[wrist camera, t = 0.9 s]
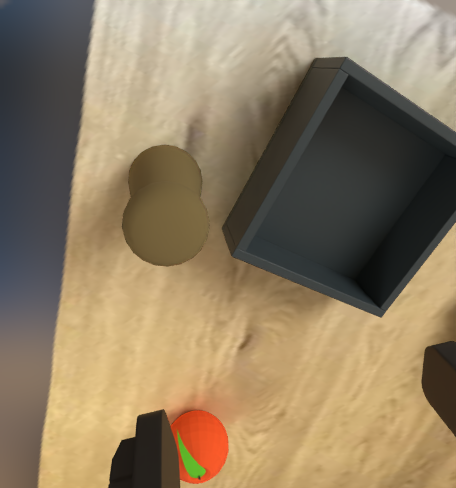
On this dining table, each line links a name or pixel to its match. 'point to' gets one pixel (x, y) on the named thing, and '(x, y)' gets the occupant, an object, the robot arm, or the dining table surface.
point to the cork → (165, 207)
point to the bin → (348, 189)
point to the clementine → (199, 445)
